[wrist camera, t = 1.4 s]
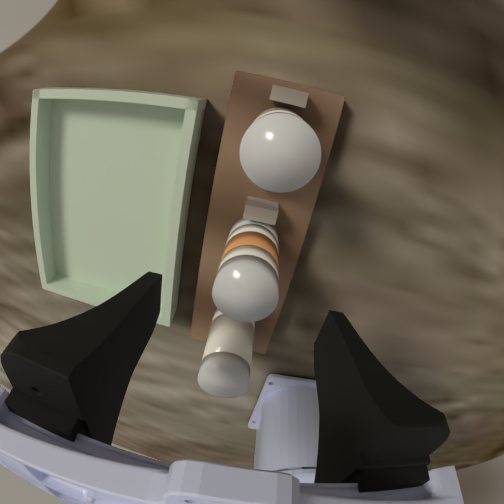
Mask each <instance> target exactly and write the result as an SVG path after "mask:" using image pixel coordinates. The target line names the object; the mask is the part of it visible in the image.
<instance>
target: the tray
mask: <svg viewBox="0 0 504 504" xmlns="http://www.w3.org/2000/svg"><path fill="white" fill-rule="evenodd" d="M206 104H207V99H205V98H198V97H191V96H184V95H176V94H168V93H159V92H150V91H139V90H126V89H111V88H86V87H51V88H42V89H34V90H33V97H32V109H31V125H30V189H31V206H32V218H33V228H34V237H35V246H36V253H37V260H38V266H39V272H40V278H41V284H42V288H43V289H46V290H49V291H52V292H54V293H57V294H60V295H63V296H66V297H69V298H72V299H75V300H78V301H81V302H85V303H88V304H91V305H94V306H98V305H100V304H102V303H103V302H105V301H107V300H108V299H110V298H111V297H113V296H115V295H116V294H118V293H119V292H120V291H122V290H123V289H125V288H126V287H128V286H129V285H130V284H132V283H133V282H135V281H136V280H137V279H139V278H140V277H141V276H143V275H144V274H146V273H147V272H149V271H150V272H154V273H158V274H162V289H161V307H160V314H159V317H158V320H157V324H161V325H165V326H169V327H170V325H171V322H172V320H173V317H174V315H175V312H176V310H177V305H178V294H179V284H180V275H181V266H182V257H183V249H184V241H185V233H186V225H187V218H188V211H189V204H190V197H191V190H192V184H193V177H194V171H195V165H196V159H197V153H198V147H199V141H200V135H201V130H202V124H203V119H204V114H205V109H206Z"/></svg>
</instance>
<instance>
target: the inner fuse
mask: <svg viewBox="0 0 504 504" xmlns="http://www.w3.org/2000/svg"><path fill="white" fill-rule="evenodd" d="M254 330H255V322H240V321H236V320H233V319H230V318H228V317H227V316H225V315H224V314H222V313H221V312H220V311H219V310H218V309H216V310H215V312H214V316H213V320H212V323H211V327H210V331H209V335H208V339H207V343H206V347H205V351H204V355H203V359H202V363H201V367H200V371H199V375H198V383H199V385H200V387H201V388H202V389H203V390H204V391H205V392H207V393H209V394H211V395H213V396H216V397H220V398H235V397H239V396H241V395H243V394H245V393H246V392H247V390H248V388H249V381H250V371H251V361H252V351H253V340H254Z"/></svg>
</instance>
